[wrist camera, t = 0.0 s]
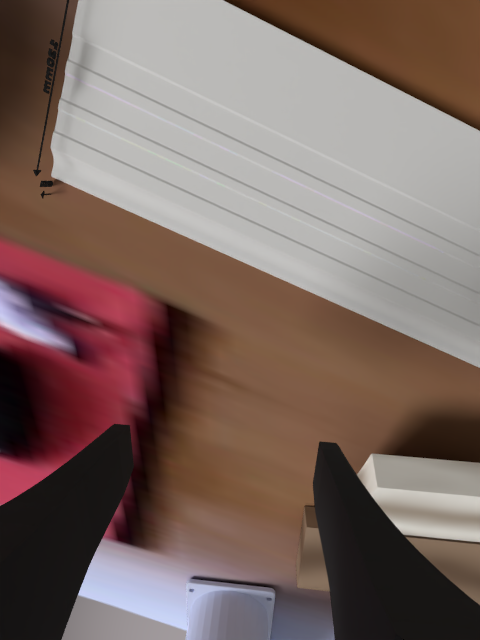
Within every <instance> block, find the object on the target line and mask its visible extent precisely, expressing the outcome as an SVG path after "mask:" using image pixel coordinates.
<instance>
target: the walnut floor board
mask: <svg viewBox="0 0 480 640" xmlns="http://www.w3.org/2000/svg"><path fill="white" fill-rule="evenodd" d="M404 536H405V537H406V538H407V539H408V540H409V541H410V542H411V543H412V544H413V545H414V547H415V548H416V549H417V550H418V551H419V552H420V553H421V554H423V555H424V556H425V557H426V558H427V559H428V560H429V561H430V562H431V563H432V564H433V565H434V566H435V567H436V568H437V569H438V570H439V571H440V572H441V573H442V574H444V575H445V576H446V577H447V578H448V579H449V580H450V581H451V582H453V583H454V584H455V585H456V586H457V587H458V588H460V589H461V590H462V591H463V592H464V593H465V594H467V595H468V596H469V597H470V598H471V599H473V600H474V601H475V602H476V603H478V604H479V605H480V542H472V541H462V540H452V539H443V538H433V537H423V536H413V535H404ZM296 576H297V588H304V589H313V590H322V591H330V588H329V582H328V576H327V571H326V566H325V560H324V555H323V550H322V545H321V540H320V534H319V529H318V524H317V519H316V513H315V507H309V506H305V507H304V513H303V520H302V527H301V533H300V540H299V547H298V554H297V560H296Z"/></svg>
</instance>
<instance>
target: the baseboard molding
mask: <svg viewBox="0 0 480 640" xmlns="http://www.w3.org/2000/svg"><path fill="white" fill-rule="evenodd" d="M68 3H69V0H67V4H66V10H65V15H64V21H63V27H62V32H61V38H60V43H59V49H58V54H57V60H56V65H55V71H54V76H53V82H52V87H51V93H50V99H49V104H48V110H47V115H46V121H45V126H44V132H43V137H42V143H41V148H40V154H39V159H38V165H37V170H33V171H34V173H35V175H36V176H37V175H38V174H39V173H40V172H41V170H38V168H39V162H40V157H41V151H42V146H43V140H44V135H45V129H46V124H47V118H48V113H49V107H50V102H51V96H52V91H53V85H54V80H55V74H56V69H57V63H58V58H59V52H60V47H61V41H62V36H63V30H64V25H65V19H66V14H67V8H68ZM72 34H73V38H72V43H71V48H70V54H69V59H68V60H67V64H66V69H65V80H64V85H63V90H62V95H61V98H60V100H59V105H58V110H59V111H58V116H57V121H56V127H55V131H54V132H53V137H52V142H51V150H52V153H53V157H54V165H53V170H52V175H51V177H54V178H56V179H58V180H60V181H63V182H65V183H67V184H69V185H71V186H74V187H76V188H78V189H80V190H83V191H85V192H87V193H89V194H92V195H94V196H96V197H98V198H101V199H103V200H105V201H107V202H110V203H112V204H114V205H116V206H119V207H121V208H123V209H125V210H127V211H130V212H132V213H134V214H136V215H139V216H141V217H143V218H145V219H148V220H150V221H152V222H154V223H157V224H159V225H161V226H163V227H166V228H168V229H170V230H172V231H175V232H177V233H179V234H181V235H184V236H186V237H188V238H190V239H192V240H195V241H197V242H199V243H201V244H204V245H206V246H208V247H210V248H213V249H215V250H217V251H219V252H222V253H224V254H226V255H228V256H231V257H233V258H235V259H237V260H240V261H242V262H244V263H246V264H248V265H251V266H253V267H255V268H257V269H260V270H262V271H264V272H266V273H269V274H271V275H273V276H275V277H278V278H280V279H282V280H284V281H287V282H289V283H291V284H293V285H296V286H298V287H300V288H302V289H305V290H307V291H309V292H311V293H313V294H316V295H318V296H320V297H322V298H325V299H327V300H329V301H331V302H334V303H336V304H338V305H340V306H343V307H345V308H347V309H349V310H352V311H354V312H356V313H358V314H361V315H363V316H365V317H367V318H369V319H372V320H374V321H376V322H378V323H381V324H383V325H385V326H387V327H390V328H392V329H394V330H396V331H399V332H401V333H403V334H405V335H408V336H410V337H412V338H414V339H417V340H419V341H421V342H423V343H426V344H428V345H430V346H432V347H434V348H437V349H439V350H441V351H443V352H446V353H448V354H450V355H452V356H455V357H457V358H459V359H461V360H464V361H466V362H468V363H470V364H473V365H475V366H477V367H479V368H480V131H479V130H477V129H475V128H473V127H471V126H469V125H467V124H465V123H463V122H461V121H459V120H457V119H455V118H453V117H451V116H449V115H447V114H445V113H444V112H442V111H440V110H438V109H436V108H434V107H432V106H430V105H428V104H426V103H424V102H422V101H420V100H418V99H416V98H414V97H412V96H410V95H408V94H406V93H404V92H402V91H400V90H398V89H396V88H394V87H392V86H390V85H389V84H387V83H385V82H383V81H381V80H379V79H377V78H375V77H373V76H371V75H369V74H367V73H365V72H363V71H361V70H359V69H357V68H355V67H353V66H351V65H349V64H347V63H345V62H343V61H341V60H339V59H337V58H335V57H334V56H332V55H330V54H328V53H326V52H324V51H322V50H320V49H318V48H316V47H314V46H312V45H310V44H308V43H306V42H304V41H302V40H300V39H298V38H296V37H294V36H292V35H290V34H288V33H286V32H284V31H282V30H280V29H278V28H277V27H275V26H273V25H271V24H269V23H267V22H265V21H263V20H261V19H259V18H257V17H255V16H253V15H251V14H249V13H247V12H245V11H243V10H241V9H239V8H237V7H235V6H233V5H231V4H229V3H227V2H225V1H223V0H79V1H78V6H77V11H76V16H75V22H74V27H73V32H72ZM50 44H51V45H53V46H54V49H56V50H57V46H58V43H57V42H55V43H54V40H52V39H51V41H50ZM48 55H49V56H50V57H52V58H53V59H55V58H56V51H53V52H52V49H50V48H49V52H48ZM53 59H51V58H48V59H47V65H48V66H50V67H54V64H55V62H54V60H53ZM50 61H51V62H52V63H51V64H50ZM50 71H52V72H53V69H51V68H49V67H47V72H46V73H47V74H46V79H48V80H50V81H51V80H52V79H51V78H49V75H50V76H52V74H51V73H50ZM47 84H49V85H51V83H50V82H48V81H46V80H45V84H44V89H43V91H44V92H46V93H48V94H49V91H47V89H50V87H49V86H47ZM42 183H43V184H42ZM44 183H45V185H44ZM46 183H47V184H46ZM48 183H49V184H48ZM50 183H51V184H50ZM52 186H53V181H41V184H40V187H52ZM44 192H45V191H43V192H42V194H41V196H42V198H43V197H44V195H51V194H44Z"/></svg>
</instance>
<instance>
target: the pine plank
mask: <svg viewBox="0 0 480 640" xmlns="http://www.w3.org/2000/svg"><path fill="white" fill-rule="evenodd" d="M357 476H358V478H359V479H360V480H361V482H362V483H363V485H364V486H365V487H366V489H367V490H368V492H369V493H370V494H371V496H372V497H373V498H374V500H375V501H376V502H377V504H378V505H379V506H380V508H381V509H382V510H383V511H384V513H385V514H386V515H387V516H388V517H389V519H390V520H391V521H392V522H393V523H394V525H395V526H396V527H397V528H398V529H399V530H400V531H401V533H402V534H403V535H413V536H423V537H433V538H443V539H452V540H462V541H472V542H480V463H474V462H463V461H451V460H440V459H428V458H417V457H405V456H394V455H383V454H371V456H370V457H369V458H368V460H367V461H366V463H365V464H364V466H363V467H362V469H361V470H360V471H359V473H358V474H357Z"/></svg>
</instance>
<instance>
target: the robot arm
mask: <svg viewBox="0 0 480 640" xmlns="http://www.w3.org/2000/svg"><path fill="white" fill-rule="evenodd" d="M133 467H134V465H133V454H132V444H131V434H130V425H120V424H114V425H112V426H111V427H110V428H109V429H107V430H106V431H105V432H104V433H102V434H101V435H100V436H99V437H98V438H96V439H95V440H94V441H93V442H92V443H90V444H89V445H88V446H87V447H86V448H84V449H83V450H82V451H81V452H79V453H78V454H77V455H75V456H74V457H73V458H72V459H70V460H69V461H68V462H67V463H65V464H64V465H62V466H61V467H60V468H58V469H57V470H56V471H54V472H53V473H52V474H50V475H49V476H48V477H46V478H45V479H43V480H42V481H40V482H39V483H37V484H36V485H34V486H33V487H31V488H30V489H28V490H27V491H25V492H23V493H22V494H20V495H19V496H17V497H15V498H14V499H12V500H10V501H9V502H7V503H5V504H3V505H1V506H0V640H61V639H62V636H63V633H64V631H65V628H66V625H67V622H68V620H69V617H70V614H71V611H72V609H73V606H74V603H75V600H76V598H77V595H78V593H79V590H80V588H81V585H82V583H83V580H84V577H85V575H86V572H87V570H88V567H89V565H90V563H91V560H92V558H93V556H94V554H95V552H96V550H97V548H98V546H99V544H100V542H101V540H102V538H103V536H104V534H105V531H106V529H107V527H108V525H109V523H110V521H111V519H112V517H113V515H114V513H115V511H116V509H117V507H118V505H119V503H120V501H121V499H122V497H123V495H124V493H125V490H126V487H127V485H128V482H129V479H130V476H131V473H132V470H133ZM313 491H314V503H315V513H316V519H317V524H318V529H319V534H320V540H321V545H322V550H323V555H324V560H325V566H326V571H327V576H328V582H329V588H330V596H331V605H332V615H333V624H334V634H335V640H480V605H479V604H478V603H476V602H475V601H474V600H473V599H471V598H470V597H469V596H468V595H467V594H465V593H464V592H463V591H462V590H461V589H460V588H458V587H457V586H456V585H455V584H454V583H453V582H451V581H450V580H449V579H448V578H447V577H446V576H445V575H444V574H442V573H441V572H440V571H439V570H438V569H437V568H436V567H435V566H434V565H433V564H432V563H431V562H430V561H429V560H428V559H427V558H426V557H425V556H424V555H423V554H421V553H420V552H419V551H418V550H417V549H416V548H415V547H414V545H413V544H412V543H411V542H410V541H409V540H408V539H407V538H406V537H405V536H404V535H403V534H402V533H401V531H400V530H399V529H398V528H397V527H396V526H395V525H394V523H393V522H392V521H391V520H390V519H389V517H388V516H387V515H386V514H385V513H384V511H383V510H382V509H381V508H380V506H379V505H378V504H377V502H376V501H375V500H374V498H373V497H372V496H371V494H370V493H369V492H368V490H367V489H366V487H365V486H364V485H363V483H362V482H361V480H360V479H359V478H358V476H357V475H356V473H355V472H354V470H353V468H352V467H351V465H350V464H349V462H348V461H347V459H346V457H345V456H344V454H343V452H342V451H341V449H340V447H339V446H338V445H337V444H336V443H329V442H319V448H318V454H317V461H316V467H315V473H314V480H313ZM186 597H187V634H186V640H270V635H271V627H272V619H273V610H274V602H275V590H274V589H272V588H268V587H259V586H250V585H241V584H232V583H223V582H214V581H205V580H196V579H189V580H188V581H187V584H186Z"/></svg>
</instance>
